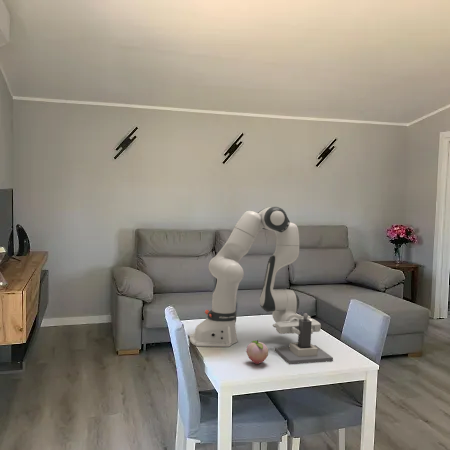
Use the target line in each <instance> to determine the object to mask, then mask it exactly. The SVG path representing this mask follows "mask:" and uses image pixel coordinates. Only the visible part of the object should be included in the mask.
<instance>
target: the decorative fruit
mask: <svg viewBox="0 0 450 450" xmlns="http://www.w3.org/2000/svg"><path fill="white" fill-rule="evenodd" d="M245 352H246V355H247V357H248V358H249V360H250V361H251V362H253V363H254V364H256V365H258V364H261V363H264V362H265V360H267V357H268V356H269V348H268V346H267V345H266V344H265V343H264V342H261V341H259V339H257V340H252V341H251V342H250V343H249V344H248V345H247V347H246V349H245Z"/></svg>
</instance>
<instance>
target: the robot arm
mask: <svg viewBox="0 0 450 450" xmlns="http://www.w3.org/2000/svg"><path fill="white" fill-rule="evenodd" d="M261 230H268V231H272V232H274V235H275V237H276V241H275V248H274V249H275V251H274V252H273V254H272V255H271V256H269V258H268V261H267V265H266V269H265V274H264V280H263V285H262V289H261V292H260V295H259V307H261V309H263V311H265V312H267V313H270V312H272V319H273V320H274V322H275V323H273V324H272V327H273V328H275V331H276V332H277V333H278V334H281V335H287V334H296V335H299V334H301V330H300V329H299V319H303V318H304V314H299V313H298V312H299V309H300V298H299V296H298V294H297V292H295V290H293V289H278V290H277V289H274V286H275V280H276V275H277V272H278V271H279V270H280V269H281V268H284V267H287V266H289V265H291V264H292V263H294V262H295V261H297V259H298V258H299V255H300V232H299V227H298V226H297V224H296V223H294V222H290V220H289V218H288V214H287V212H285V210H284V209H283V208H281V207H279V206H269V207H266V208H263V209H261V210H259V211H258V212H256V211H252V210H247V211H244V213H243V214H242V215H241V217H240V218H239V219H238V220H237V222H236V224H235V226H234V228H233V229H232V231H231V234H230V235H229V237H228V239H227V240H226V242H225V244H224V245H223V246H222V248H220V250H219V251H218V252H217V253H216V254H215V256H214V257H212V258H211V259H210V261H209V263H208V270H209V273H210V274H211V276H212V277H214V278H215V279H216V285H215V288H214V291H213V293H212V296H211V297H212V299H211V300H212V302H211V303H212V304H211V306H212V307H211V310H209V309H205V310H204V313H205V314H206V316H207V318H205V319H204V320H203V321H201V322H200V323H198V324H197V325H196V327H195V330H194V334H191V335H190V336H189V342H190V343H191V344H192V345H193V346H196V347H219V348H220V347H228V348H229V347H231V346H232V345H234V344H236V343H238V337H237V329H236V328H237V327H236V322H237V310H236V309H237V307H236V304H237V293H238V290H239V285H240V283H241V281H242V280H243V278H244V274H245V273H244V272H245V271H244V269H243V267H242V265H240V263H239V262H240V261H241V259H242V258H243V257H244V256H246V255H247V254H248V253H249V251H250V249H251V247H252V245H253V243H254V242H255V240H256V238H257V235H258V234H259V232H260V231H261ZM307 319H308V320H310V321H312V324H311V335H312V334H314V333H317V332H318V333H319V332H321V327H322V325H321V323H320V322H319V321H318V320H316V319H314V318H311V316H310V315H307Z"/></svg>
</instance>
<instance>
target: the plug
mask: <svg viewBox="0 0 450 450" xmlns="http://www.w3.org/2000/svg"><path fill="white" fill-rule="evenodd" d="M303 315H304V318H303V319H299V329H300V330H301V334H299V335H298V334H297V335H298V336H297V343H298V347H299V348H310V346H311V344H312V342H311V341H312V334H311V324H312V321H310V320H308V319H307V316H308V313H307V312H305V313H303Z"/></svg>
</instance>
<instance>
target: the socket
mask: <svg viewBox="0 0 450 450" xmlns="http://www.w3.org/2000/svg"><path fill="white" fill-rule="evenodd" d="M274 352H275V353H276V354H277V355H278V356H280V358H282V359H283V360H284V361H285V362H286V363H288V364H289V365H297V364H300V365H301V364H309V363H311V364H312V363H325V362H326V361H327V362H334V357H333V356H332V355H330V354H329V353H327V352H326V351H324V350H323V349H322V348H320V346H319V347H318V346H317V345H316V344H314V345H313V344H312V343H311V346H310V348H299V347H298V342H290V343H289V346H283V347H282V346H281V347H280V346H279V347H274ZM327 362H326V363H327Z"/></svg>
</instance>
